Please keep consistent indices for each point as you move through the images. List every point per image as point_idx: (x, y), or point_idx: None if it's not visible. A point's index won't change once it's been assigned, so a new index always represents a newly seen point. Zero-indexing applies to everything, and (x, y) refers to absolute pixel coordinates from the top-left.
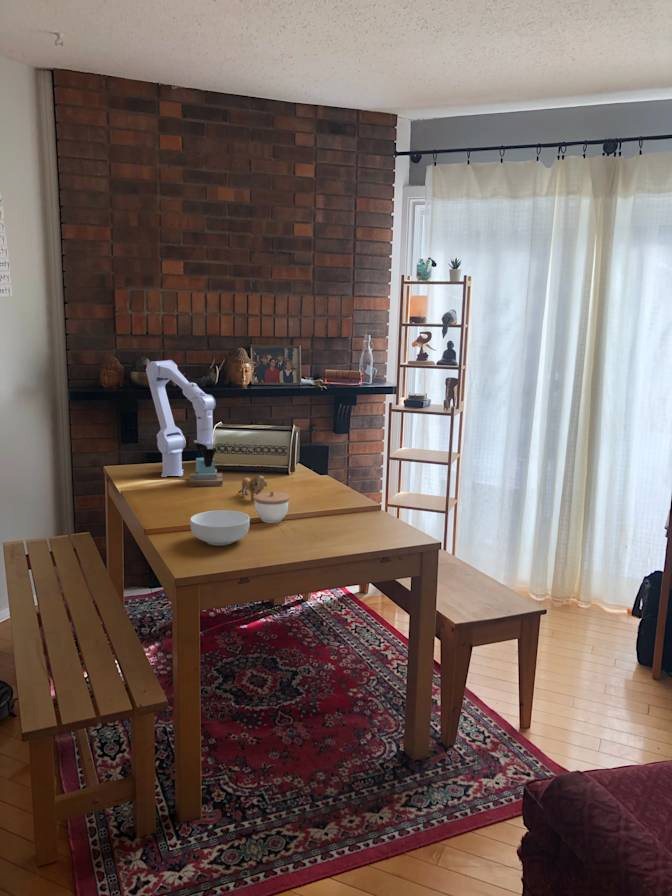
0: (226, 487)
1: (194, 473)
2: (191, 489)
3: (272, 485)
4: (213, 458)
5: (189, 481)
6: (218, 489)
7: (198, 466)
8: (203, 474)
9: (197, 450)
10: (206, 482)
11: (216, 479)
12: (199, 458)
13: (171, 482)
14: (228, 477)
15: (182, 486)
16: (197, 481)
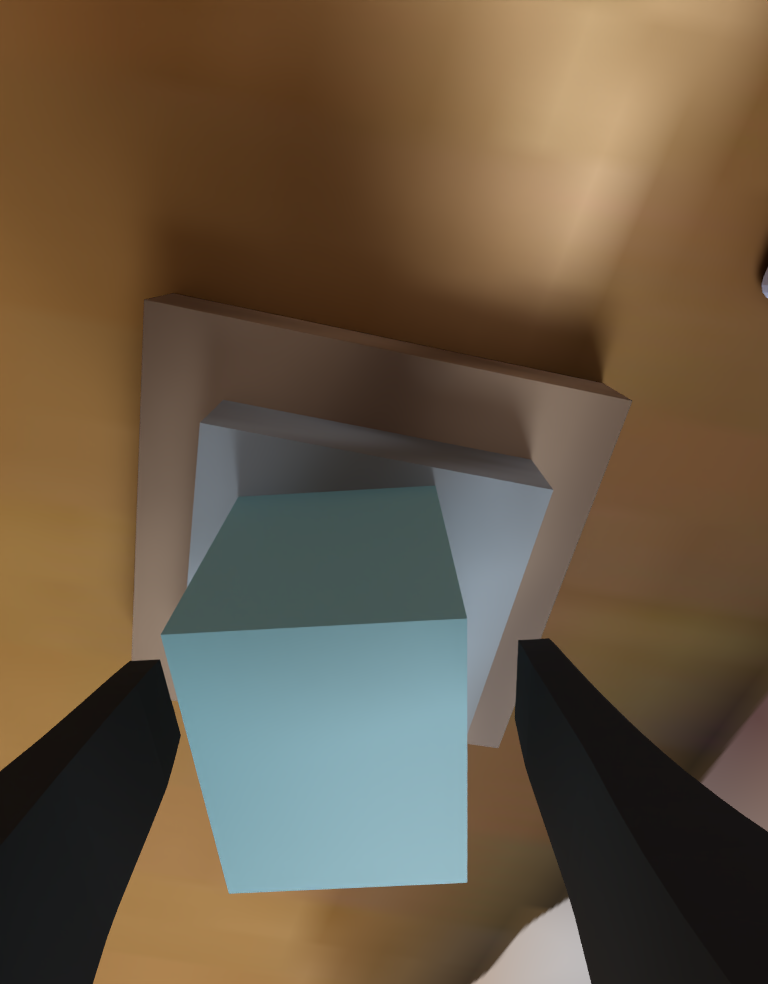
0: (93, 673)
1: (609, 459)
2: (36, 301)
3: (117, 954)
4: (321, 888)
5: (148, 307)
6: (16, 594)
7: (245, 553)
8: (194, 550)
9: (703, 818)
10: (141, 525)
11: None
12: (407, 682)
13: (506, 55)
14: (486, 751)
15: (218, 199)
16: (142, 422)
